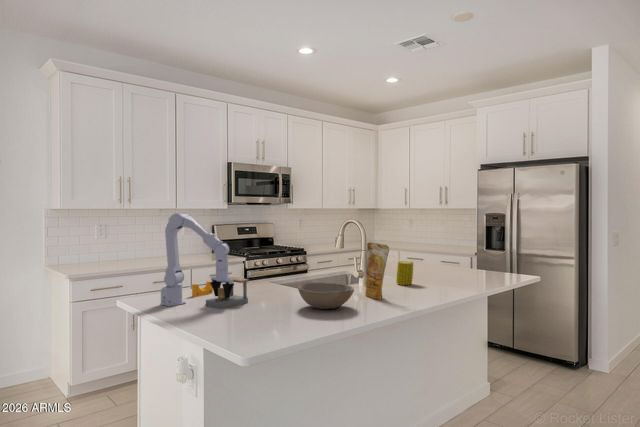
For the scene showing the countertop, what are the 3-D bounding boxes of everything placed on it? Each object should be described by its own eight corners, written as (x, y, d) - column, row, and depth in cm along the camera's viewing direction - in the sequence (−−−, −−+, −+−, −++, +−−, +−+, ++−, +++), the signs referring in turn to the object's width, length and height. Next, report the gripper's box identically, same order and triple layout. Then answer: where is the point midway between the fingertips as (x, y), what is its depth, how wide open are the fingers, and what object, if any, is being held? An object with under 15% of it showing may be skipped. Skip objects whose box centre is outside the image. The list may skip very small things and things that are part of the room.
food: (403, 285, 271) (415, 288, 263) (389, 282, 266) (400, 285, 257) (409, 261, 272) (420, 263, 263) (394, 257, 266) (405, 260, 258)
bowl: (321, 299, 222) (321, 279, 222) (365, 306, 205) (365, 285, 205) (285, 308, 202) (285, 287, 202) (330, 317, 185) (330, 294, 185)
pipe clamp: (207, 292, 241) (207, 280, 241) (212, 293, 239) (212, 281, 239) (189, 296, 231) (189, 284, 231) (195, 297, 229) (195, 284, 229)
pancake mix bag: (372, 293, 238) (372, 241, 237) (390, 300, 220) (390, 244, 219) (361, 294, 235) (361, 242, 235) (378, 301, 217) (378, 245, 217)
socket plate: (222, 308, 201) (222, 283, 201) (205, 304, 210) (205, 280, 210) (248, 302, 214) (248, 279, 214) (231, 299, 222) (231, 276, 222)
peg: (228, 304, 210) (228, 288, 210) (221, 306, 207) (221, 289, 207) (223, 303, 212) (222, 287, 212) (216, 305, 209) (216, 288, 209)
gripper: (238, 269, 208) (238, 297, 208) (219, 266, 217) (219, 294, 217) (226, 271, 202) (226, 300, 202) (207, 268, 211) (207, 296, 212)
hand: (222, 297), depth 209 cm, fingers open, 7 cm apart
